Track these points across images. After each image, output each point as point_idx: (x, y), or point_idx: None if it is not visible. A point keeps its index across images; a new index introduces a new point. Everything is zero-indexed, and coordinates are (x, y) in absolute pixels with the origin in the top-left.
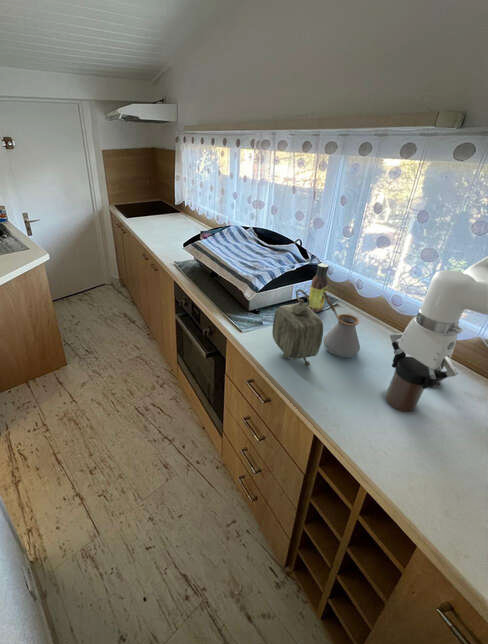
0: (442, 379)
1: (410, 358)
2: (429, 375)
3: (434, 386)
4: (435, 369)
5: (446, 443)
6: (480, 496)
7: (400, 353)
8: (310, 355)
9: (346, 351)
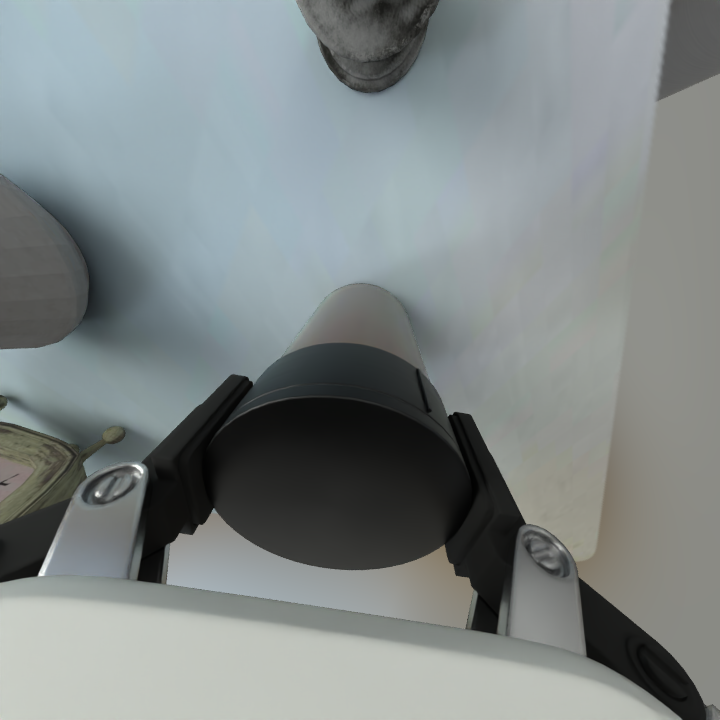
0: None
1: (243, 449)
2: (463, 555)
3: (413, 53)
4: (506, 592)
5: (525, 378)
6: (606, 455)
7: (163, 545)
8: (79, 481)
9: (52, 321)
